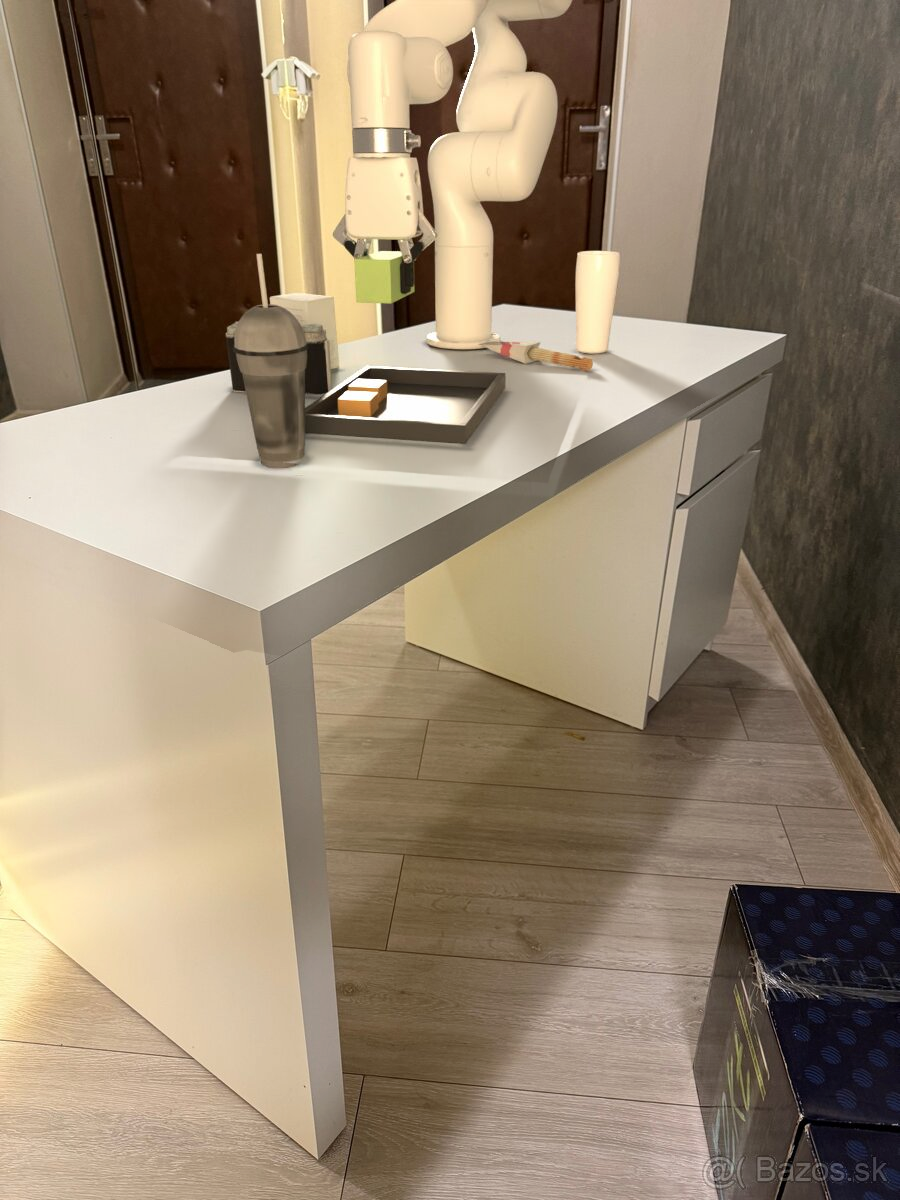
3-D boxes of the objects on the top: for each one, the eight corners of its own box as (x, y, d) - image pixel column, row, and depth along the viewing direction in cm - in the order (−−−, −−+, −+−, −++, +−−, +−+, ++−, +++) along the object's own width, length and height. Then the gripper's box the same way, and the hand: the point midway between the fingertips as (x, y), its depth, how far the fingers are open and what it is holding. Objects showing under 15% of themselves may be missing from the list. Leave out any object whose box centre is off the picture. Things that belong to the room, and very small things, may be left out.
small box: (340, 370, 124) (335, 296, 119) (312, 377, 120) (306, 300, 115) (304, 363, 128) (298, 291, 123) (276, 369, 125) (268, 295, 120)
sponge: (382, 290, 123) (380, 251, 121) (414, 291, 122) (413, 251, 120) (356, 302, 113) (354, 259, 110) (391, 303, 112) (390, 259, 109)
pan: (367, 384, 116) (366, 366, 115) (505, 392, 112) (505, 373, 111) (296, 437, 94) (294, 414, 93) (465, 449, 90) (465, 425, 89)
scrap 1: (358, 394, 109) (357, 378, 108) (387, 395, 108) (387, 380, 107) (348, 401, 106) (347, 386, 105) (379, 403, 105) (378, 387, 104)
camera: (214, 396, 110) (204, 318, 106) (241, 384, 116) (232, 310, 111) (315, 405, 106) (308, 324, 102) (337, 392, 112) (332, 315, 107)
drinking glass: (621, 352, 135) (630, 253, 128) (590, 357, 132) (597, 255, 125) (592, 345, 140) (599, 249, 133) (562, 350, 137) (568, 252, 130)
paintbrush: (491, 331, 134) (597, 353, 124) (490, 349, 136) (595, 372, 125) (476, 335, 132) (583, 357, 121) (475, 352, 133) (581, 376, 122)
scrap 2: (347, 407, 103) (346, 390, 102) (378, 408, 103) (378, 392, 102) (338, 415, 100) (337, 399, 99) (370, 417, 99) (369, 400, 98)
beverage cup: (254, 476, 82) (229, 260, 73) (240, 455, 88) (215, 252, 79) (325, 466, 85) (310, 256, 76) (307, 446, 91) (290, 249, 81)
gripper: (451, 145, 110) (451, 290, 119) (330, 146, 114) (338, 287, 122) (437, 144, 104) (438, 297, 112) (309, 145, 107) (320, 293, 116)
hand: (386, 290), depth 117 cm, fingers closed on sponge, 5 cm apart
